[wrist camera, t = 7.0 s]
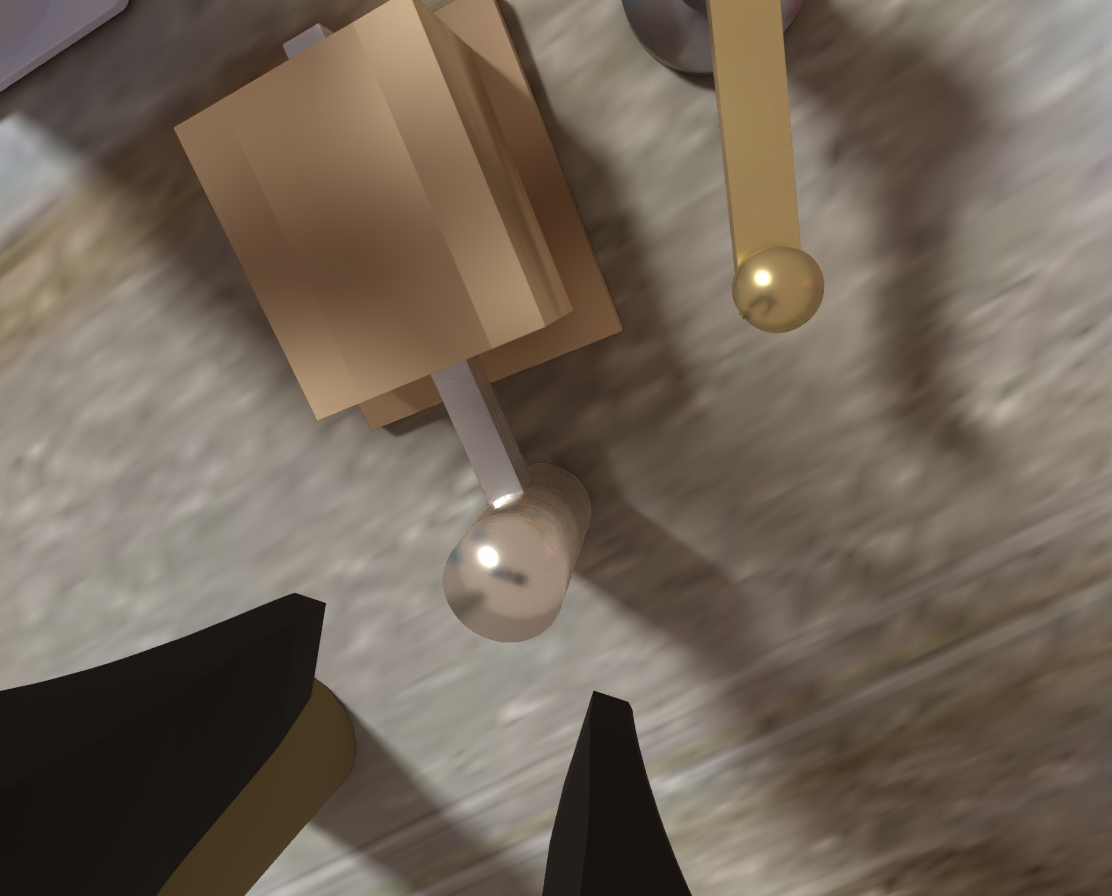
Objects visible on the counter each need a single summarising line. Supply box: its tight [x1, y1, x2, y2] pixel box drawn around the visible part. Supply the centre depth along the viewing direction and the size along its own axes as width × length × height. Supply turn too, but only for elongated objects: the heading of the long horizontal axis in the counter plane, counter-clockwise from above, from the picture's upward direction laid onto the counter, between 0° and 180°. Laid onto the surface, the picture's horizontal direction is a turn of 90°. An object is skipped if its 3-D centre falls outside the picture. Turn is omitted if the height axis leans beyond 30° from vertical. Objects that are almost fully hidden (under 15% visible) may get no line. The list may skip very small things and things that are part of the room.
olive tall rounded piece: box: [157, 678, 356, 896], centre depth 20 cm, size 6×6×11 cm
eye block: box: [174, 0, 623, 431], centre depth 17 cm, size 9×8×4 cm
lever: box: [706, 0, 824, 333], centre depth 12 cm, size 9×3×2 cm, turn 10°
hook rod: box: [283, 23, 592, 642], centre depth 17 cm, size 14×3×5 cm, turn 23°
